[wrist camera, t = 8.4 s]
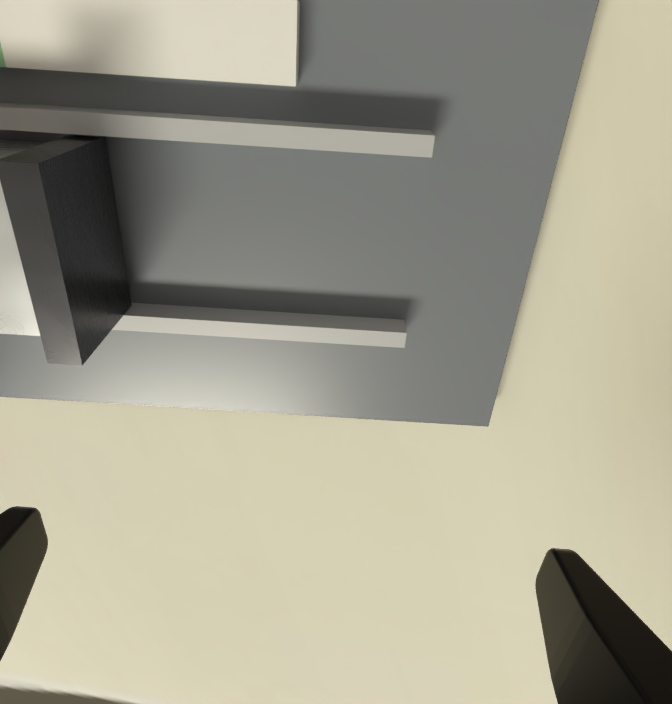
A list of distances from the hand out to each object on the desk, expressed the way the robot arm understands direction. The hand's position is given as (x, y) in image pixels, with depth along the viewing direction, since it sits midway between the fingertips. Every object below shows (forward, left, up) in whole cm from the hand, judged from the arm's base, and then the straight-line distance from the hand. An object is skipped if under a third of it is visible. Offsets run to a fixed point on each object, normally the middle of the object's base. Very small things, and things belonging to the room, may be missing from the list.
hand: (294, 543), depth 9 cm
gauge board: (+5, -2, -12) cm, 13 cm away
